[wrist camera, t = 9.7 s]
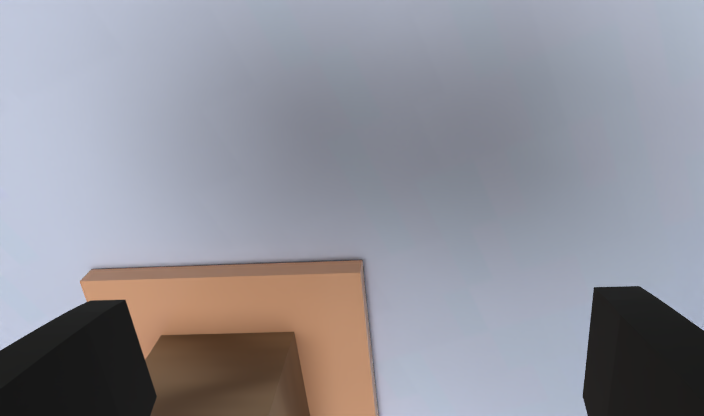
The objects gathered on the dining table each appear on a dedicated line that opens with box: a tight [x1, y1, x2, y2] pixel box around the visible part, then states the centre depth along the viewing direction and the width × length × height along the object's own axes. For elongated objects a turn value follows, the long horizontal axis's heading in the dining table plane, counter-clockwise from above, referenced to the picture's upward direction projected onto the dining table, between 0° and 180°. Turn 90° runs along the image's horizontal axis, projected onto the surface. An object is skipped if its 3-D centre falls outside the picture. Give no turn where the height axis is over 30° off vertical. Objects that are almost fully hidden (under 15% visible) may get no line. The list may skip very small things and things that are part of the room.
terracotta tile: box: [80, 260, 379, 416], centre depth 21 cm, size 10×10×1 cm
